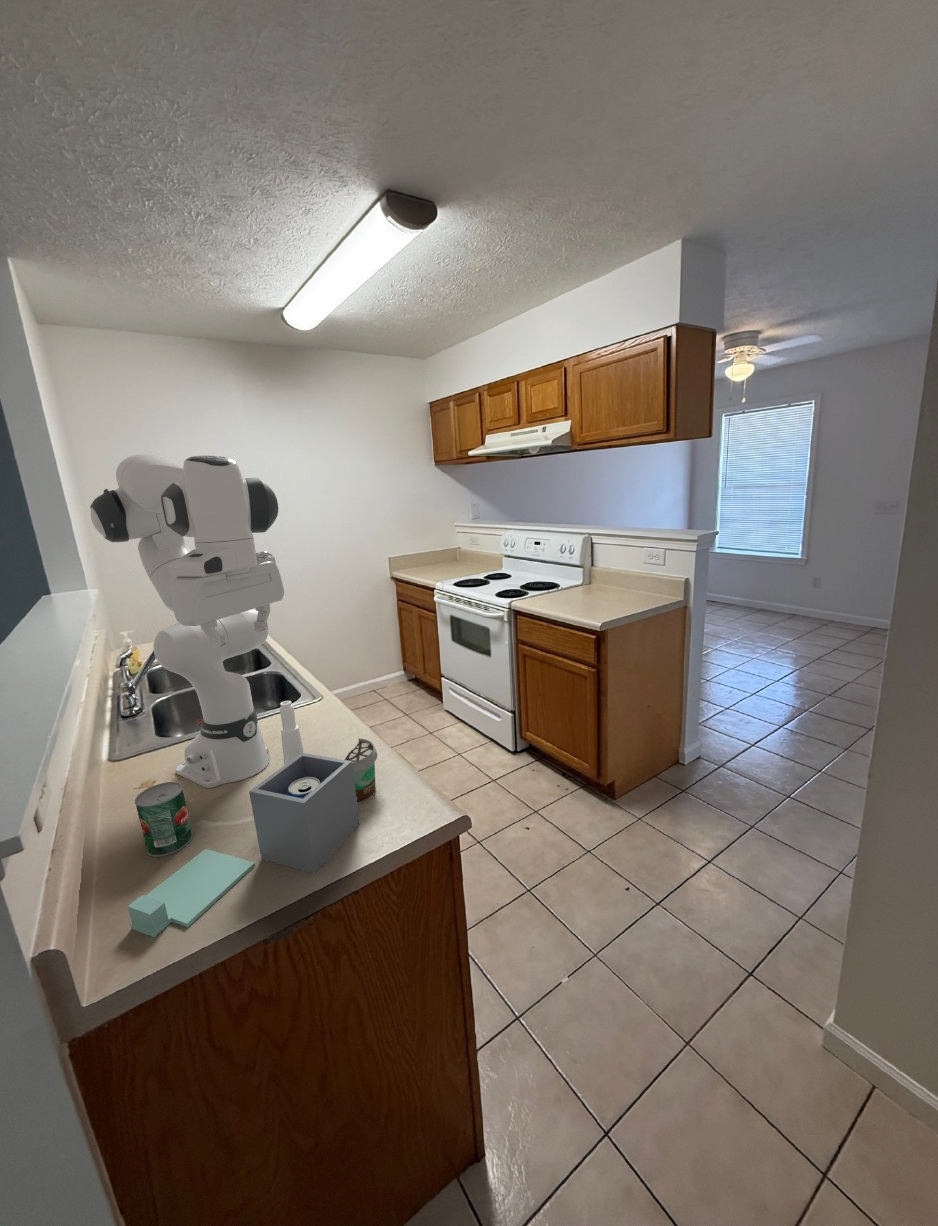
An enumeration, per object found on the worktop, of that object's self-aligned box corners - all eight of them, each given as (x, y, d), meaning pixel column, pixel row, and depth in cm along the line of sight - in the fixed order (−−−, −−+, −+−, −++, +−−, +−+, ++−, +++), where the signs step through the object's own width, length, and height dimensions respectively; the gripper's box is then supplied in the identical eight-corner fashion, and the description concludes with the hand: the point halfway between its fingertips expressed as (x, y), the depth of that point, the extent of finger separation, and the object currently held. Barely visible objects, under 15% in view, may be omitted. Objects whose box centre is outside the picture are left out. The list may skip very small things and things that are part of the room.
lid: (116, 922, 80) (111, 901, 79) (206, 852, 95) (202, 833, 94) (170, 943, 76) (165, 921, 75) (255, 866, 91) (251, 847, 90)
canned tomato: (140, 846, 98) (128, 795, 95) (183, 824, 104) (173, 777, 101) (155, 863, 93) (143, 810, 90) (199, 839, 99) (189, 790, 96)
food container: (368, 810, 105) (363, 767, 103) (340, 808, 106) (335, 765, 104) (388, 777, 117) (384, 738, 114) (364, 776, 118) (359, 737, 116)
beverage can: (296, 857, 92) (287, 799, 90) (293, 836, 98) (284, 781, 95) (332, 845, 95) (324, 789, 92) (327, 826, 101) (319, 772, 98)
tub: (261, 858, 92) (249, 791, 89) (310, 813, 105) (301, 752, 102) (314, 873, 88) (303, 802, 85) (359, 824, 101) (351, 761, 97)
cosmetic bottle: (304, 803, 109) (290, 709, 103) (280, 801, 110) (264, 707, 105) (319, 787, 114) (306, 697, 109) (295, 785, 116) (281, 696, 111)
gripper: (259, 549, 94) (270, 621, 97) (157, 567, 75) (175, 655, 78) (286, 549, 91) (296, 623, 95) (188, 567, 73) (205, 657, 76)
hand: (241, 638), depth 86 cm, fingers open, 8 cm apart
